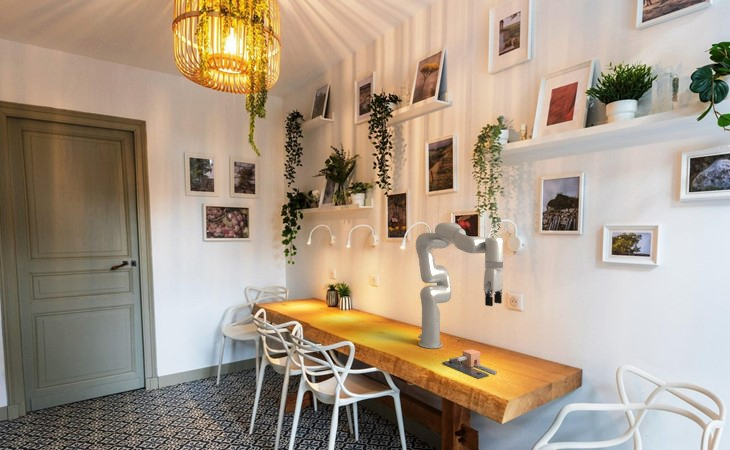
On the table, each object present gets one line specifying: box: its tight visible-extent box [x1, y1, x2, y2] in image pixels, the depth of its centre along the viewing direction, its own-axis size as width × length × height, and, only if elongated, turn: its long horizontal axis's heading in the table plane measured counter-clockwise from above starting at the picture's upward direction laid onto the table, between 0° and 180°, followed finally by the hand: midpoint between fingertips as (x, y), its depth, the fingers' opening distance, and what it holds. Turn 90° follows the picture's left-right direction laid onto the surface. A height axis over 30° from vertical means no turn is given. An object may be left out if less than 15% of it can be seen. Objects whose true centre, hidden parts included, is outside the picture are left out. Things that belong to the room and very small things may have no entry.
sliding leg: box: [456, 348, 481, 368], centre depth 170 cm, size 5×12×6 cm, turn 122°
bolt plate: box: [442, 360, 489, 380], centre depth 165 cm, size 21×6×1 cm, turn 32°
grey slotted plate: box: [448, 355, 498, 375], centre depth 167 cm, size 21×9×2 cm, turn 32°
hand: (493, 304), depth 167 cm, fingers open, 9 cm apart
